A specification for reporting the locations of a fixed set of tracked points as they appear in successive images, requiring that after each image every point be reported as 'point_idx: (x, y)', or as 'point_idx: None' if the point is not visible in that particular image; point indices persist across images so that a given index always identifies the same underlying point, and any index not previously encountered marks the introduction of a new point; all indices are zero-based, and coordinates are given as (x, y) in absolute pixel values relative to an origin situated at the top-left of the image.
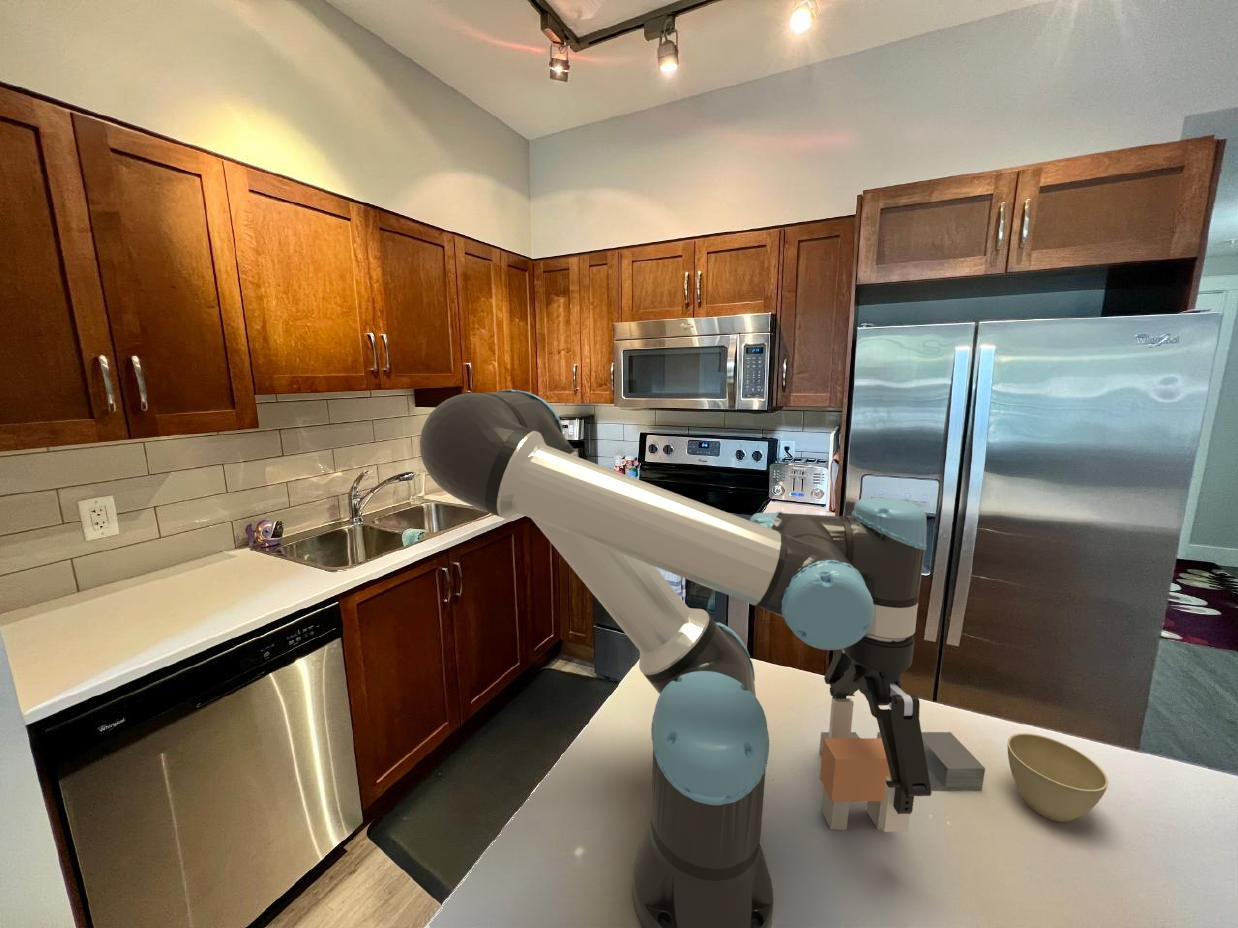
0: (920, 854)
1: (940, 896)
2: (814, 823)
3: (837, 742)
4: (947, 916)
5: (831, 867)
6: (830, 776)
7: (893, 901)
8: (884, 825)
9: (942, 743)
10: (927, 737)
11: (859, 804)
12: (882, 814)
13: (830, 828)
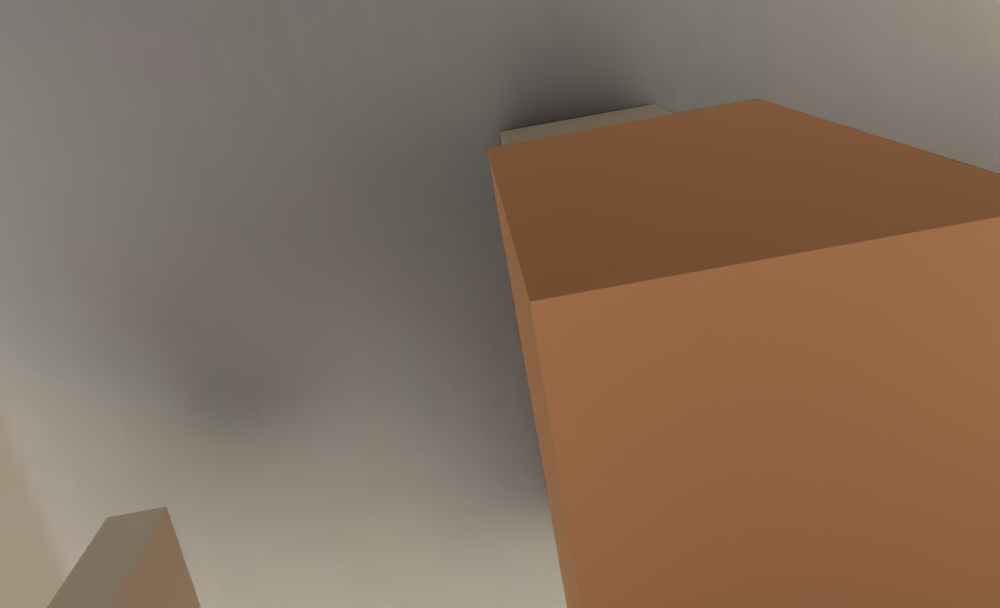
0: (421, 595)
1: None
2: (532, 21)
3: (965, 435)
4: None
5: (199, 58)
6: (581, 178)
7: (80, 371)
8: (95, 549)
9: None
10: None
11: None
12: (114, 588)
13: (508, 130)
